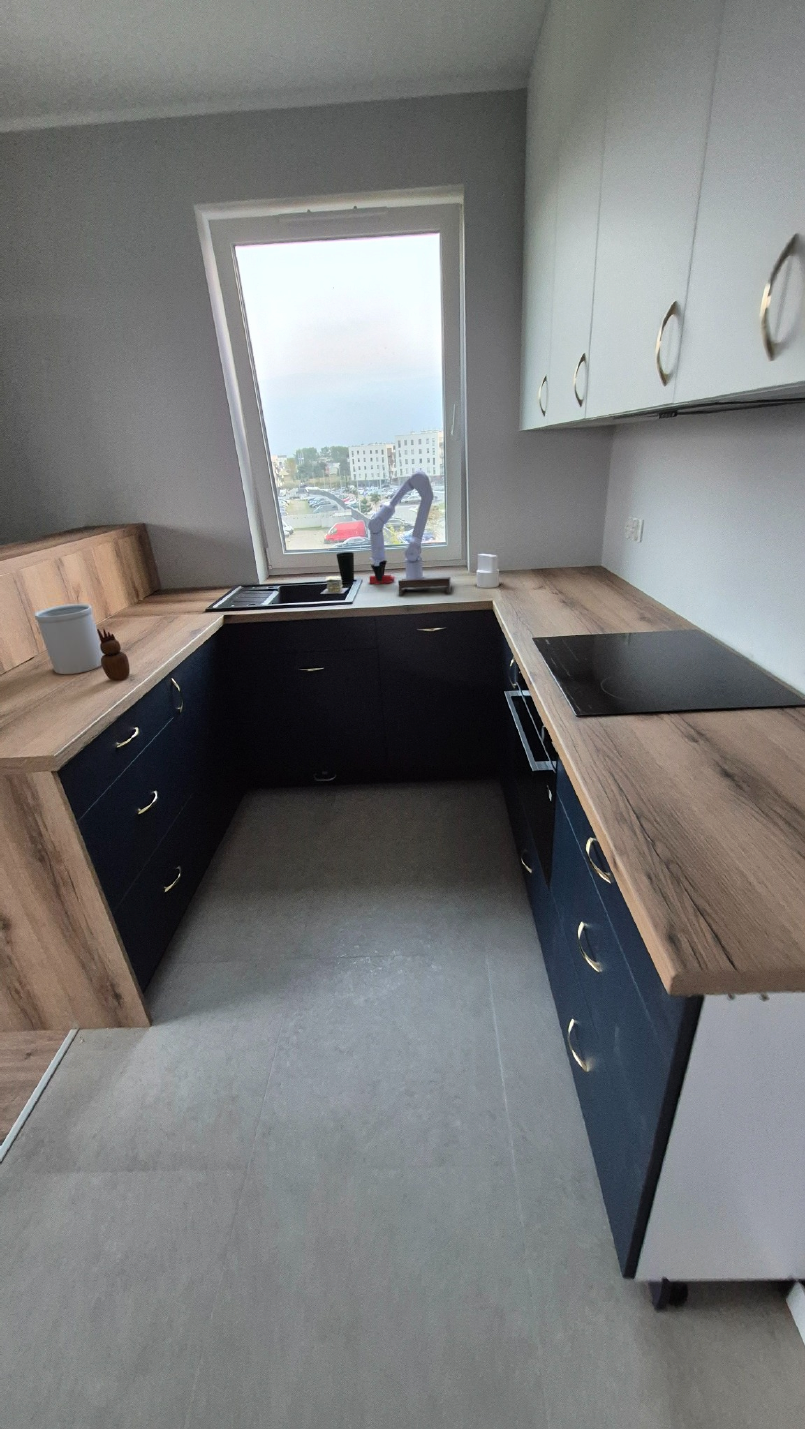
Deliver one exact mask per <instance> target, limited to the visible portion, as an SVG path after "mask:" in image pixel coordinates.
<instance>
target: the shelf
mask: <svg viewBox="0 0 805 1429" xmlns="http://www.w3.org/2000/svg"><path fill="white" fill-rule="evenodd" d="M451 580H452V579H451V576H443V577H441V576H440V577H425V578H416V579H406V578H401V579H399V580H398V581H397V582H398V583H397V584H398V596H399V597H402V596H403V595H404V593H405V590H406V589H414V588H417V589H418V588H440V587H441V588H442V587H443V588H444V587H446V595H450V594H451V588H452V581H451Z"/></svg>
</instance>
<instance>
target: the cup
mask: <svg viewBox="0 0 805 1429" xmlns="http://www.w3.org/2000/svg"><path fill="white" fill-rule="evenodd" d="M354 556H355V553H354V552H352V551H344V552H338V553H336V559H337V560H336V561H337V564H338V569H339V575H340V577H341V578H340V580H342V581H341V582H342V583H352V582H355V557H354Z"/></svg>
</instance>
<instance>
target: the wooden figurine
mask: <svg viewBox="0 0 805 1429" xmlns="http://www.w3.org/2000/svg"><path fill="white" fill-rule="evenodd" d="M96 629H97V633H98V637H99V640H100V649H101V651H102V653H103V656H102V658H101V667H102V670H103V672H104V674H105V676H106V677H107V678H108V679H109V680H110V681H114V682H116V681H122V680H125V679H127V678H128V677H129V676H130V672H131V671H130V661H129V658H128V656H127V654H126V653H125V652H123V651H122V646H121V644H120V642H119V640H117V639H116V636H115V635H114V633H110V631H106V629H105V628H103V629H102V632H103V634H102V633H101V631H100V629H99V628H96Z"/></svg>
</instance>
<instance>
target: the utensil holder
mask: <svg viewBox="0 0 805 1429" xmlns="http://www.w3.org/2000/svg"><path fill="white" fill-rule="evenodd" d="M33 616H34V620H36V621H37V624H38V628H39V630H40V633H41V636H42V640H43V643H44V645H45V650H46V651H47V655H48V657H49V660H50V661H51V662H50V663H51V665H52V668H53V671H54V672H55V673H56V674H58V675H74V674H75V675H76V674H80V673H85V672H89V671H92V670H95V669H97V668H100V667H102V665H101V658H102V656H103V655H104V654H103V653H102V651H101V649H100V644H101V641H100V638H99V634H98V631H97V629H98V628H97V626H96V622H95V618H94V615H93V608H92V605H91V604H88V603H87V604H86V603H71V604H62V605H57V606H51V607H47V608H44V609H41V610H38V611H36V612H35V613H34V615H33Z"/></svg>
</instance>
